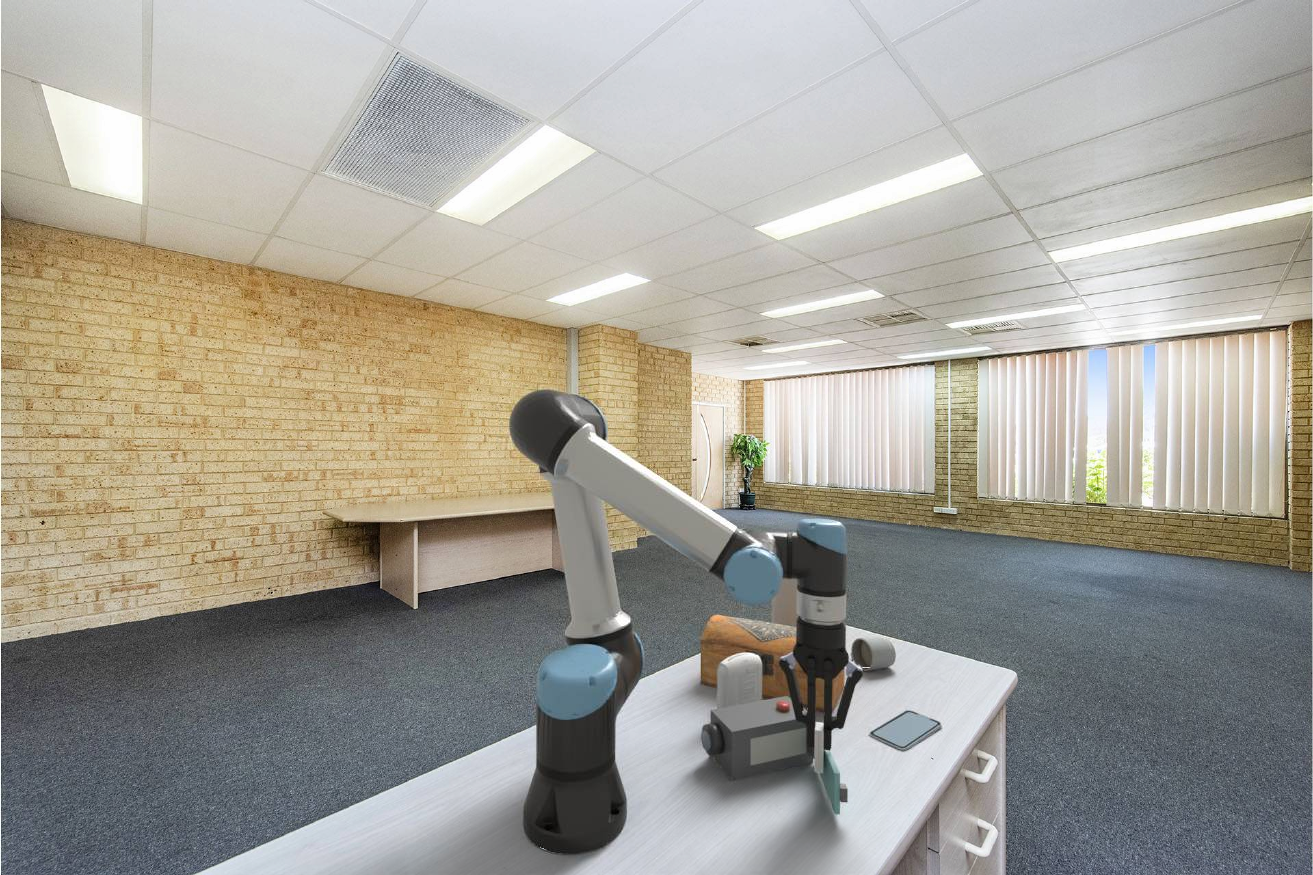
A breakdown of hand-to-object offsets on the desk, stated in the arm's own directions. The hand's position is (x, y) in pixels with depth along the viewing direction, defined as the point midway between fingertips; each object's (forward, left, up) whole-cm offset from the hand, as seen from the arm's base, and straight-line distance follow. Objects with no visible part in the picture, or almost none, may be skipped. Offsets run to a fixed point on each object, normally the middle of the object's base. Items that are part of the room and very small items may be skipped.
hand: (819, 767), depth 86 cm
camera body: (-4, +12, -4) cm, 14 cm away
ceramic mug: (+44, +38, -5) cm, 58 cm away
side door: (+2, +1, -3) cm, 4 cm away
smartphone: (+28, +11, -5) cm, 31 cm away
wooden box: (+14, +37, -5) cm, 40 cm away
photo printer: (+1, +27, -5) cm, 28 cm away
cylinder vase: (+33, +54, -5) cm, 63 cm away
